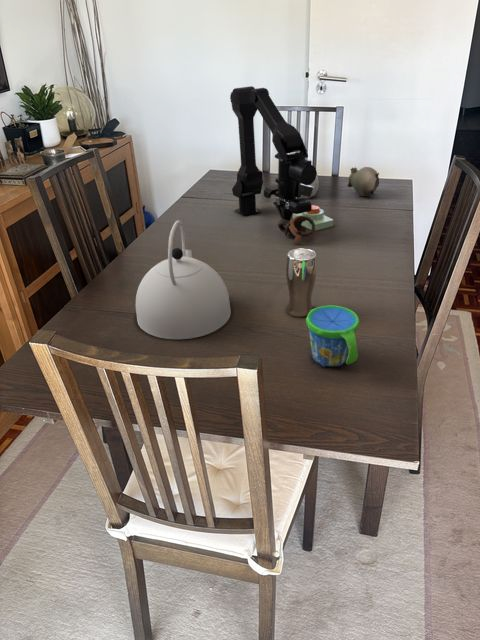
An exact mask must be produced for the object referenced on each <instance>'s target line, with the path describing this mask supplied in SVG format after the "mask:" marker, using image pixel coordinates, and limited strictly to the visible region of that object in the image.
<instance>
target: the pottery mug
mask: <svg viewBox="0 0 480 640" xmlns="http://www.w3.org/2000/svg"><path fill="white" fill-rule="evenodd" d="M306 220H307V221H309V222H310V224H311V225H312V229H311V230H310V229H309V231H307V227H305V226H303V225H301V224H302V222H304V221H306ZM277 227H278V229H279V231H281V232H282V233H283V234H284V236H286V237H287V236H290V235H291V234H292V235H293V236H294V237H295V238H294V239H293V243H294V244H296V245H300V244H301V243H304V242H306V241H309V240H310V239H312V238H313V237H314V236H315V233H316V232H317V230H316V229H315V224H314V221H313V220H312V219H311V218H309V217H306V216H296V217H295V218H294V219H293V218H291V220H290V221H289V220H286V219H282V218H281V219H279V221H278V222H277Z"/></svg>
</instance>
